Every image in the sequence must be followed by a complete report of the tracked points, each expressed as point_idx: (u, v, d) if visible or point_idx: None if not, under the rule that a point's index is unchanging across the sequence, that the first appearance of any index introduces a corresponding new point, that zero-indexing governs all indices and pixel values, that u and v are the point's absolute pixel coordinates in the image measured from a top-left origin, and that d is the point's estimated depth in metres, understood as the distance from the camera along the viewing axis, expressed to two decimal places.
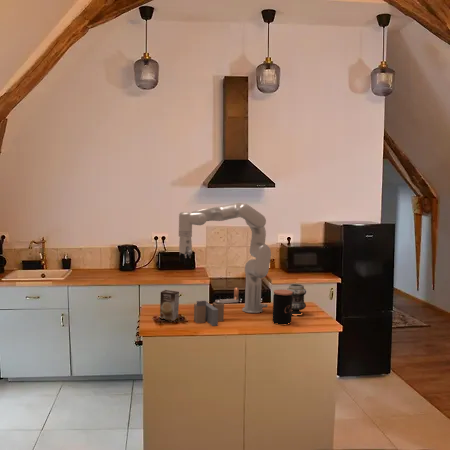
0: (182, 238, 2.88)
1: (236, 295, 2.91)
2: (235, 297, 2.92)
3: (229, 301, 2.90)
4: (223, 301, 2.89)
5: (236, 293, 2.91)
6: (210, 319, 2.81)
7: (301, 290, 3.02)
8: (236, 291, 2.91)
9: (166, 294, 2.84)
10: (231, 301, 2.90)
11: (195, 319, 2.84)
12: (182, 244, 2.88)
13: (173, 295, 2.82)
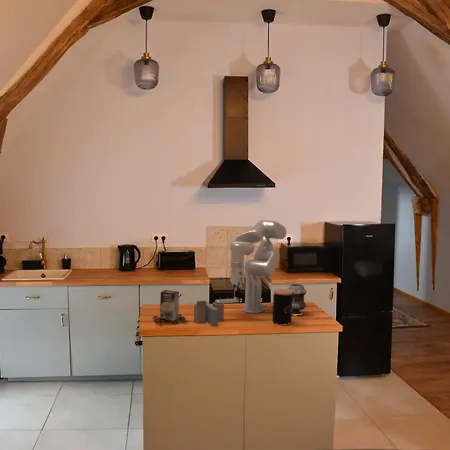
0: (235, 269, 2.88)
1: None
2: (235, 297, 2.92)
3: (229, 301, 2.90)
4: (223, 301, 2.89)
5: None
6: (210, 319, 2.81)
7: (301, 290, 3.02)
8: None
9: (166, 294, 2.84)
10: (231, 301, 2.90)
11: (195, 319, 2.84)
12: (235, 275, 2.88)
13: (173, 295, 2.82)
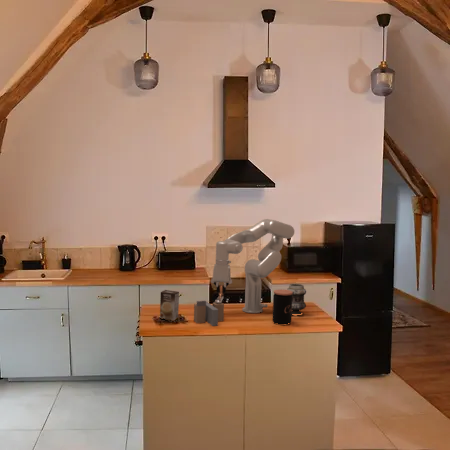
0: (225, 267, 2.95)
1: None
2: (222, 294, 2.98)
3: (222, 299, 2.95)
4: (221, 300, 2.91)
5: None
6: (210, 319, 2.81)
7: (301, 290, 3.02)
8: None
9: (166, 294, 2.84)
10: (222, 298, 2.96)
11: (195, 319, 2.84)
12: (225, 273, 2.95)
13: (173, 295, 2.82)
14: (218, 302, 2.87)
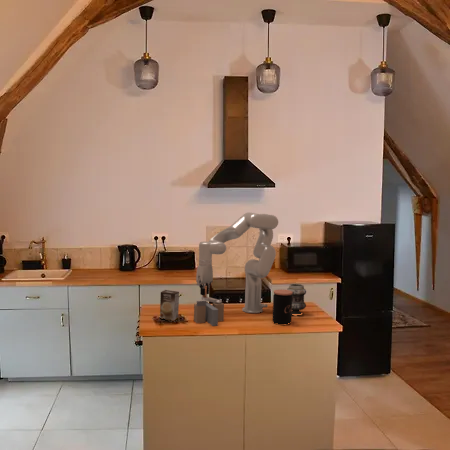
0: (210, 267, 2.94)
1: None
2: (206, 294, 2.96)
3: None
4: None
5: None
6: (210, 319, 2.81)
7: (301, 290, 3.02)
8: None
9: (166, 294, 2.84)
10: None
11: (195, 319, 2.84)
12: (211, 272, 2.95)
13: (173, 295, 2.82)
14: (220, 302, 2.88)
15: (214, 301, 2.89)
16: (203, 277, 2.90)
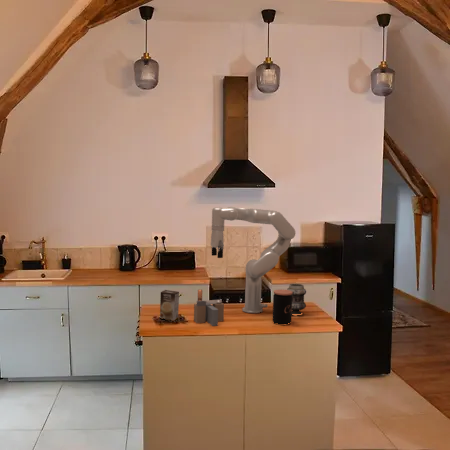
0: None
1: None
2: None
3: None
4: None
5: None
6: (210, 319, 2.81)
7: (301, 290, 3.02)
8: None
9: (166, 294, 2.84)
10: None
11: (195, 319, 2.84)
12: None
13: (173, 295, 2.82)
14: None
15: (216, 302, 2.87)
16: None
